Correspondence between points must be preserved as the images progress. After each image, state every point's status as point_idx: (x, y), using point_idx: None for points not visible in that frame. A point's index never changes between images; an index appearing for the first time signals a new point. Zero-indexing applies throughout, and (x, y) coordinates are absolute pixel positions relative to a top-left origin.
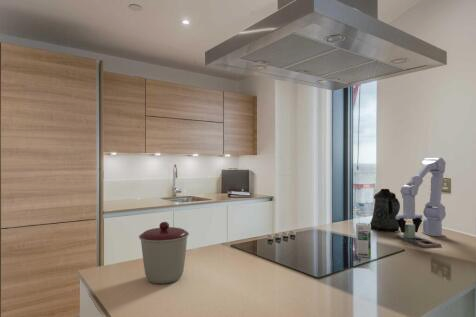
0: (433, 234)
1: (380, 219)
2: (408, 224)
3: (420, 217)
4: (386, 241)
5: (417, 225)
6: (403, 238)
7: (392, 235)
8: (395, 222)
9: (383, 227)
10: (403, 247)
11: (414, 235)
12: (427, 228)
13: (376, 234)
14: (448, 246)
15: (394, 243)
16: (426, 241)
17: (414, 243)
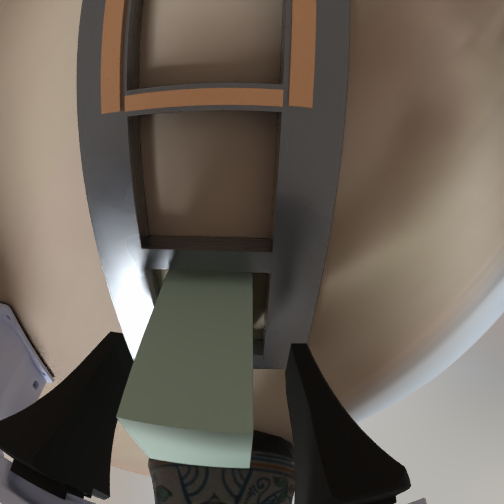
0: (4, 322)
1: (280, 502)
2: (216, 446)
3: (8, 477)
4: (474, 256)
5: (80, 398)
6: (319, 279)
7: (280, 389)
8: (187, 479)
9: (274, 457)
10: (494, 57)
11: (166, 297)
12: (16, 378)
13: (361, 405)
14: (34, 3)
15: (478, 185)
16: (142, 88)
17: (342, 76)
